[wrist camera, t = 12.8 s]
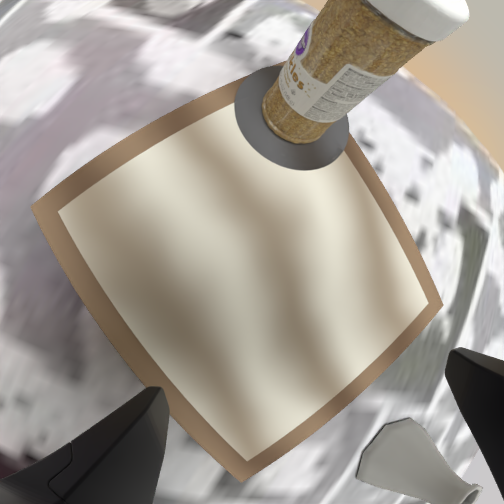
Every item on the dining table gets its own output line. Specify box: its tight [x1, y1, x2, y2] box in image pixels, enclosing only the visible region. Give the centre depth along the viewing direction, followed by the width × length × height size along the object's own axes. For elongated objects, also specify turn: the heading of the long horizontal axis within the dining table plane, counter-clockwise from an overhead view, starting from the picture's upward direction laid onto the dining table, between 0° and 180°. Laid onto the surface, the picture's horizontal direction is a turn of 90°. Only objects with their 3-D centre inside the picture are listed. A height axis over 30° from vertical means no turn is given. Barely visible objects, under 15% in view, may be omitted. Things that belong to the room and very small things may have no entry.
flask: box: [356, 418, 483, 504], centre depth 16 cm, size 7×7×10 cm
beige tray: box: [31, 61, 443, 482], centre depth 18 cm, size 21×22×1 cm
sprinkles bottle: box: [262, 0, 469, 144], centre depth 12 cm, size 5×5×14 cm
